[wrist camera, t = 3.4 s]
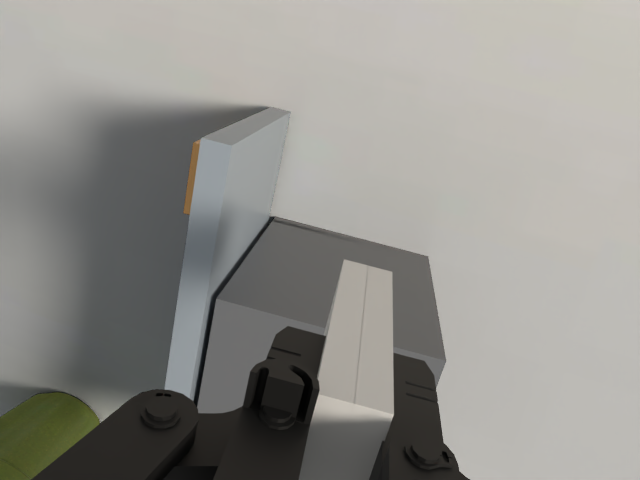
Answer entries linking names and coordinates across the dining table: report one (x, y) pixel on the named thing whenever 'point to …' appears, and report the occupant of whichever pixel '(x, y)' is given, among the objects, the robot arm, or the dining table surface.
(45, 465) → the plant pot
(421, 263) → the block
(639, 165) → the dining table surface
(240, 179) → the side door
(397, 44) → the dining table surface
